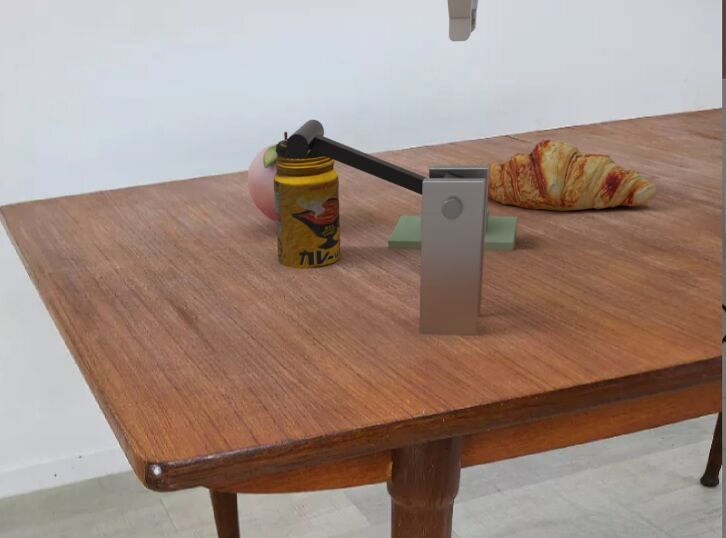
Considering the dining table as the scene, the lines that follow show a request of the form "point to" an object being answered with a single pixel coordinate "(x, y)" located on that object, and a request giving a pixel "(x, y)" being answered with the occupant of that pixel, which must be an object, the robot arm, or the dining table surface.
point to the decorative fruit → (264, 180)
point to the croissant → (566, 180)
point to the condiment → (306, 210)
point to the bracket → (452, 249)
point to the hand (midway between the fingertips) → (462, 36)
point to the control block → (496, 235)
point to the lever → (350, 156)
